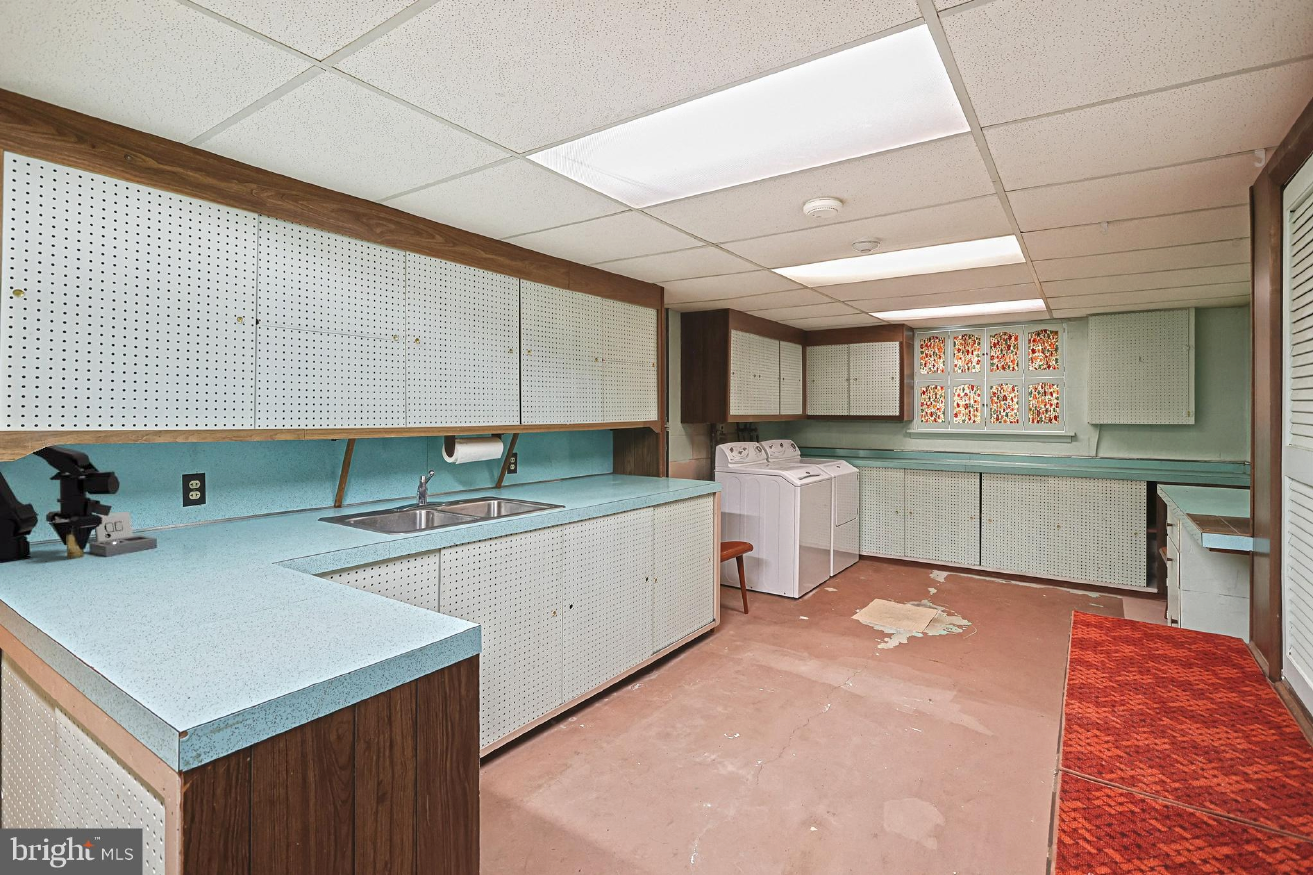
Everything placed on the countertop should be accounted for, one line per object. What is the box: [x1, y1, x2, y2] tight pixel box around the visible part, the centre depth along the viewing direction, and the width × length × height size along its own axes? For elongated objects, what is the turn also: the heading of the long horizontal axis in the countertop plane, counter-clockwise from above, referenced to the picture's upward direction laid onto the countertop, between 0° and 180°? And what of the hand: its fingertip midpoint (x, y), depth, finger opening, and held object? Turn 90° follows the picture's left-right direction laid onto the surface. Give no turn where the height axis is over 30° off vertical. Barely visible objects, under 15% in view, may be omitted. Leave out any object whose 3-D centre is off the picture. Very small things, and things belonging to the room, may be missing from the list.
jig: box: [88, 535, 158, 558], centre depth 192 cm, size 13×10×3 cm
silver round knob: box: [104, 540, 120, 545], centre depth 189 cm, size 4×4×4 cm
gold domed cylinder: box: [66, 533, 85, 560], centre depth 183 cm, size 4×4×7 cm
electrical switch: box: [94, 511, 134, 542], centre depth 205 cm, size 9×5×9 cm, turn 152°
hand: (74, 547), depth 183 cm, fingers open, 9 cm apart
